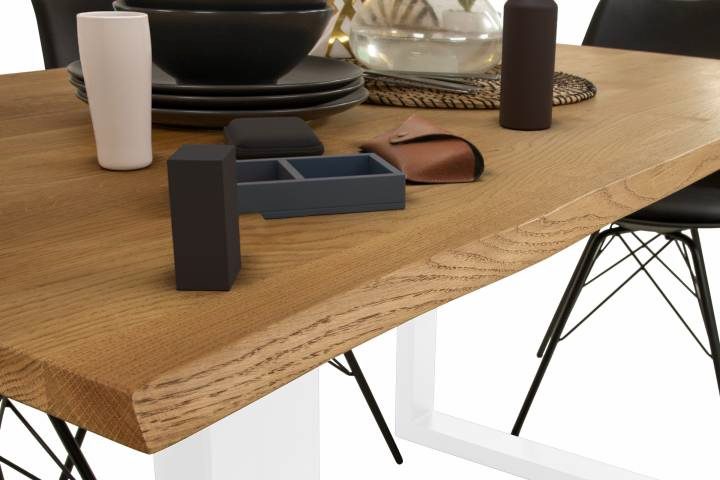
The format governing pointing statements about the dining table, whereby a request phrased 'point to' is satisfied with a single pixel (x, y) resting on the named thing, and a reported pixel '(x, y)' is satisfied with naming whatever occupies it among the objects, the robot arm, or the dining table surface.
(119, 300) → the dining table surface
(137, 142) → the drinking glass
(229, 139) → the carrying case
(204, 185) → the black rectangular block
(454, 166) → the sunglasses case
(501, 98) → the bottle
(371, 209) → the tray
